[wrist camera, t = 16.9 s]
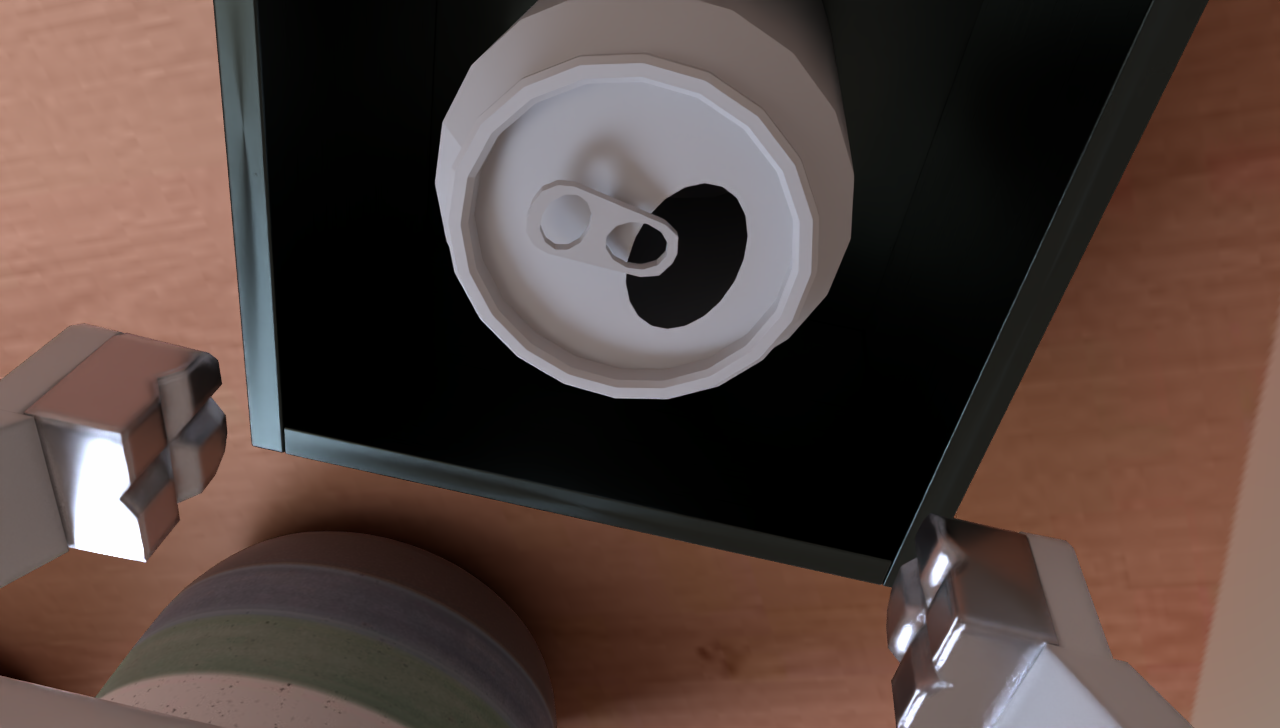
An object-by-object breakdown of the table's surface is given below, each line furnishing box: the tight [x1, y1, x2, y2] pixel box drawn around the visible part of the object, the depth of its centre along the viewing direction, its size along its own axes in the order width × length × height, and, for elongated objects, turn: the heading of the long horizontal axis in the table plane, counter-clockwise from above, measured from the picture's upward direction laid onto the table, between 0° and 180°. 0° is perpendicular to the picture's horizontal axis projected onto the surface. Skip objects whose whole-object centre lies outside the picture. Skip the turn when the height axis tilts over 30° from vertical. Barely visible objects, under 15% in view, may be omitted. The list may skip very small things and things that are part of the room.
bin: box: [213, 0, 1209, 588], centre depth 21 cm, size 16×16×10 cm
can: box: [435, 0, 854, 399], centre depth 20 cm, size 8×8×12 cm
